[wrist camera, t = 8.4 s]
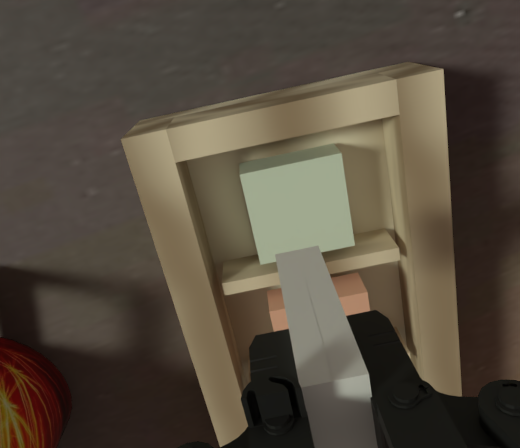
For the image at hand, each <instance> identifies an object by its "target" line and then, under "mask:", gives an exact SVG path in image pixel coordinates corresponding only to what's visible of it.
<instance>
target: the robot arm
mask: <svg viewBox="0 0 520 448" xmlns="http://www.w3.org/2000/svg"><path fill="white" fill-rule="evenodd" d="M275 257H276V263H277V268H278V274H279V279H280V284H281V290H282V295H283V300H284V306H285V311H286V317H287V322H288V327H289V329H285V330H280V331H275V332H270V333H265V334H260V335H255V337H254V339H253V341H252V343H251V345H250V347H249V357H250V372H251V374H250V377H251V382H249V383H248V385H247V386H246V387H245V389H244V390H243V392H242V396H241V402H242V406H243V410H244V413H245V417H246V420H247V424H248V427H247V428H246V430H245V431H244V432H243V433H242V434H241V435H240V436H239V437H238V438H236V439H235V440H233V441H231V442H230V443H228V444H226V445H224V446H222V447H220V448H520V381H516V380H498V381H494V382H490V383H488V384H487V385H485V386H484V387H482V389H481V391H480V393H479V395H478V397H461V396H452V395H447V394H443V393H440V392H438V391H436V390H435V389H434V388H433V387H432V386H431V385H430V384H429V383H428V382H426V381H424V380H422V379H421V378H420V376H419V374H418V372H417V370H416V368H415V367H414V365H413V363H412V361H411V359H410V357H409V355H408V354H407V352H406V350H405V348H404V346H403V344H402V342H400V339H399V337H398V335H397V333H396V332H395V329H394V328H393V326H392V324H391V322H390V320H389V318H387V317H386V316H384V315H383V314H381V313H380V312H379V311H377V310H372V311H367V312H363V313H358V314H353V315H348V316H346V315H345V312H344V310H343V307H342V305H341V302H340V300H339V297H338V294H337V292H336V289H335V287H334V284H333V282H332V279H331V277H330V274H329V272H328V269H327V267H326V264H325V261H324V259H323V256H322V254H321V251H320V249H319V246H313V247H308V248H304V249H299V250H294V251H289V252H284V253H279V254H275ZM178 448H213V447H212V446H211V445H209V444H208V443H203V442H192V443H186V444H184V445H182V446H180V447H178Z"/></svg>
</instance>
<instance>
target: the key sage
mask: <svg viewBox="0 0 520 448" xmlns="http://www.w3.org/2000/svg"><path fill="white" fill-rule="evenodd" d="M239 173H240V179H241V183H242V188H243V192H244V196H245V200H246V205H247V209H248V213H249V218H250V222H251V226H252V231H253V235H254V239H255V243H256V248H257V252H258V256H259V261H260V265H262V264H267V263H272V262H276V257H275V254H279V253H284V252H289V251H294V250H299V249H304V248H308V247H313V246H319V249H320V251H321V252H326V251H331V250H336V249H341V248H345V247H350V246H355V243H354V236H353V229H352V222H351V215H350V208H349V201H348V194H347V187H346V180H345V173H344V166H343V160H342V153H341V152H340V151H339V149H338V148H337V147H336V146H335V144H334V143H332V144H328V145H323V146H318V147H314V148H309V149H304V150H300V151H295V152H290V153H286V154H281V155H276V156H272V157H267V158H262V159H257V160H253V161H248V162H243V163H239Z"/></svg>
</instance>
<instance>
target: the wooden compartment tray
mask: <svg viewBox="0 0 520 448" xmlns="http://www.w3.org/2000/svg"><path fill="white" fill-rule="evenodd" d="M121 141H122V144H123V148H124V151H125V154H126V157H127V160H128V163H129V166H130V169H131V172H132V175H133V179H134V182H135V185H136V188H137V191H138V194H139V197H140V200H141V203H142V206H143V210H144V213H145V216H146V219H147V222H148V225H149V228H150V231H151V234H152V238H153V241H154V244H155V247H156V250H157V253H158V256H159V259H160V262H161V265H162V269H163V272H164V275H165V278H166V281H167V284H168V287H169V290H170V293H171V296H172V300H173V303H174V306H175V309H176V312H177V315H178V318H179V321H180V324H181V327H182V331H183V334H184V337H185V340H186V343H187V346H188V349H189V352H190V355H191V358H192V362H193V365H194V368H195V371H196V374H197V377H198V380H199V383H200V386H201V390H202V393H203V396H204V399H205V402H206V405H207V408H208V411H209V414H210V417H211V421H212V424H213V427H214V430H215V433H216V436H217V439H218V442H219V445H220V447H222V446H224V445H226V444H228V443H230V442H231V441H233V440H235V439H236V438H238V437H239V436H240V435H241V434H242V433H243V432H244V431H245V430H246V428H247V427H248V424H247V420H246V417H245V413H244V410H243V406H242V402H241V396H242V392H243V390H244V389H245V387H246V386H247V385H248V383H249V382H251V377H250V374H251V372H250V357H249V347H250V345H251V343H252V341H253V339H254V337H255V335H260V334H265V333H270V332H274V330H273V326H272V322H271V317H270V313H269V306H268V297H267V291H268V290H273V289H278V288H281V284H280V279H279V274H278V268H277V263H276V262H272V263H267V264H262V265H260V261H259V256H258V252H257V248H256V243H255V239H254V235H253V231H252V226H251V222H250V218H249V213H248V209H247V205H246V200H245V196H244V192H243V188H242V183H241V179H240V173H239V163H243V162H248V161H253V160H257V159H262V158H267V157H272V156H276V155H281V154H286V153H290V152H295V151H300V150H304V149H309V148H314V147H318V146H323V145H328V144H332V143H334V144H335V146H336V147H337V148H338V149H339V151H340V152H341V153H342V160H343V166H344V173H345V180H346V187H347V194H348V201H349V208H350V215H351V222H352V229H353V236H354V243H355V246H350V247H345V248H341V249H336V250H331V251H326V252H321V254H322V256H323V259H324V261H325V264H326V267H327V269H328V272H329V274H330V277H331V278H332V277H337V276H342V275H347V274H352V273H357V272H358V274H359V276H360V278H361V280H362V282H363V284H364V286H365V288H366V290H367V292H368V299H369V306H370V311H372V310H377V311H379V312H380V313H381V314H383V315H384V316H386V317H387V318H389V320H390V322H391V324H392V326H393V328H394V329H395V332H396V333H397V335H398V337H399V339H400V342H402V344H403V346H404V348H405V350H406V352H407V354H408V355H409V357H410V359H411V361H412V363H413V365H414V367H415V368H416V370H417V372H418V374H419V376H420V378H421V379H422V380H424V381H426V382H428V383H429V384H430V385H431V386H432V387H433V388H434V389H435V390H436V391H438V392H440V393H443V394H447V395H452V396H461V397H462V387H461V369H460V351H459V334H458V316H457V299H456V281H455V264H454V246H453V228H452V211H451V193H450V176H449V158H448V141H447V123H446V105H445V88H444V70H443V69H441V68H436V67H431V66H426V65H421V64H416V63H412V62H405V63H401V64H396V65H392V66H387V67H382V68H378V69H373V70H369V71H364V72H360V73H355V74H350V75H346V76H341V77H337V78H332V79H328V80H323V81H318V82H314V83H309V84H305V85H300V86H296V87H291V88H286V89H282V90H277V91H273V92H268V93H264V94H259V95H254V96H250V97H245V98H241V99H236V100H232V101H227V102H222V103H218V104H213V105H209V106H204V107H200V108H195V109H190V110H186V111H181V112H177V113H172V114H168V115H163V116H158V117H154V118H149V119H145V120H140V121H139V122H138V123H137V124H136V125H135V126H134V127H133V128H132V129H131V130H130V131H129V132H128V133H127V134H126V135H125V136H124V137H123V138H122V139H121Z"/></svg>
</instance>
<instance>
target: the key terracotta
mask: <svg viewBox="0 0 520 448" xmlns="http://www.w3.org/2000/svg"><path fill="white" fill-rule="evenodd" d="M331 279H332V282H333V284H334V287H335V289H336V292H337V294H338V297H339V300H340V302H341V305H342V307H343V310H344V312H345V315H346V316H348V315H353V314H358V313H363V312H367V311H370V306H369V299H368V292H367V290H366V288H365V286H364V284H363V282H362V280H361V278H360V276H359V274H358V272H357V273H352V274H347V275H342V276H337V277H332V278H331ZM267 297H268V306H269V313H270V317H271V322H272V326H273V330H274V332H275V331H280V330H285V329H289V327H288V322H287V317H286V311H285V306H284V300H283V295H282V290H281V288H278V289H273V290H268V291H267Z"/></svg>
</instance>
